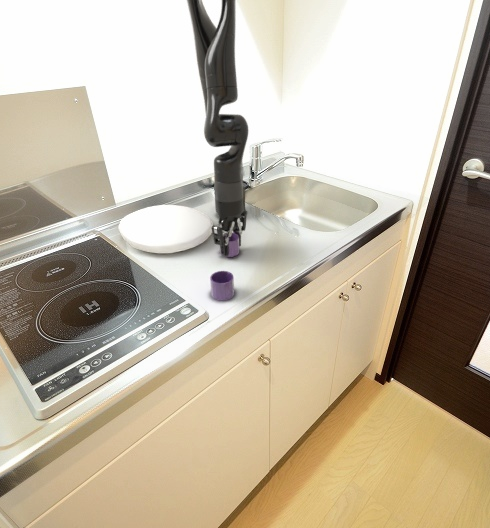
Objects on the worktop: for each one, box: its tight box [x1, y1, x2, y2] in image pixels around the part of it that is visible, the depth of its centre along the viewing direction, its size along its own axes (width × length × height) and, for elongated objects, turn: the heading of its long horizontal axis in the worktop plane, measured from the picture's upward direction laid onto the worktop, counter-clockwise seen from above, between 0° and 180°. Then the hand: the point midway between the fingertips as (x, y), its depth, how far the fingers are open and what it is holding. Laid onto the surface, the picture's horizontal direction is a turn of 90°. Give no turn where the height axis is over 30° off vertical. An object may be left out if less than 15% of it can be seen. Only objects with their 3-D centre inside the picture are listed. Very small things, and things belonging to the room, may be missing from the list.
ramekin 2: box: [209, 270, 235, 302], centre depth 89 cm, size 6×6×5 cm
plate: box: [118, 204, 214, 254], centre depth 113 cm, size 28×6×27 cm
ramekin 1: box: [219, 232, 240, 258], centre depth 105 cm, size 6×6×5 cm
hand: (231, 250), depth 105 cm, fingers closed on ramekin 1, 5 cm apart
